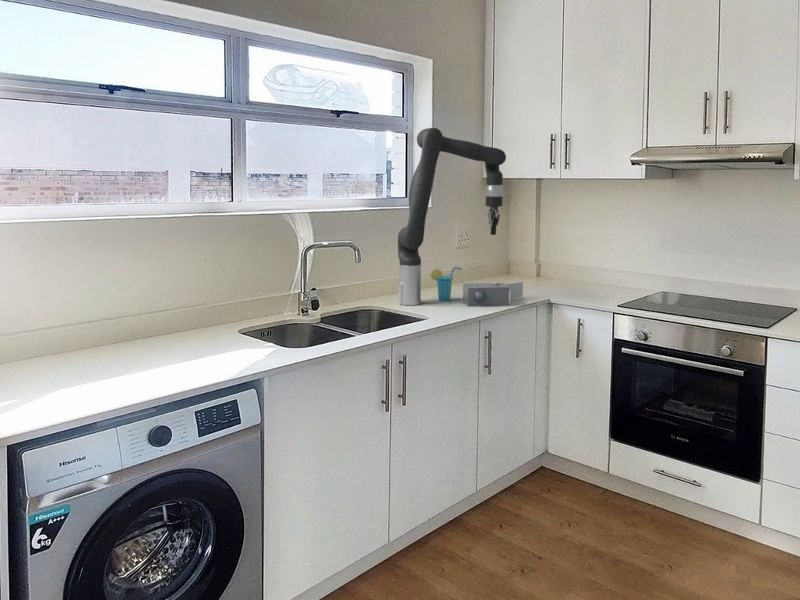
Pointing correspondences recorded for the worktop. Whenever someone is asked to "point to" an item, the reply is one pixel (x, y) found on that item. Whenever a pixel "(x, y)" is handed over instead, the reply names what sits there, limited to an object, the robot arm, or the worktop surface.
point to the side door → (516, 290)
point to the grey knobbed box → (486, 294)
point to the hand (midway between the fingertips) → (493, 234)
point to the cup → (443, 284)
